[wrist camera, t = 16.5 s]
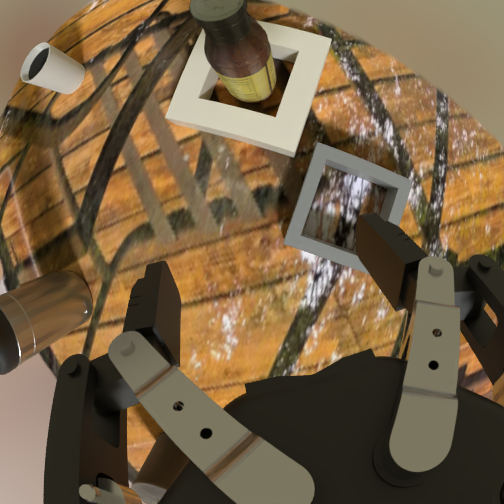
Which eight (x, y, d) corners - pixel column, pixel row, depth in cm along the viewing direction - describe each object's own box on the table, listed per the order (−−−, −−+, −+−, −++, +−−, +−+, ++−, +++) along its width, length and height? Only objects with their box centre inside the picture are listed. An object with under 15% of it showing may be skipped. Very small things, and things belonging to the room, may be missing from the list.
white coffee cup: (89, 56, 36) (53, 35, 26) (85, 90, 37) (45, 72, 27) (61, 69, 36) (24, 52, 27) (56, 101, 37) (17, 88, 28)
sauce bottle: (247, 57, 34) (214, -39, 14) (286, 80, 34) (282, -16, 14) (217, 93, 35) (159, 13, 15) (256, 117, 35) (225, 41, 16)
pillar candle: (184, 424, 44) (154, 485, 30) (218, 457, 45) (199, 518, 30) (148, 435, 46) (116, 489, 31) (180, 466, 47) (157, 520, 32)
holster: (283, 239, 37) (283, 243, 33) (314, 148, 35) (317, 142, 31) (370, 270, 36) (379, 278, 33) (400, 182, 34) (412, 181, 30)
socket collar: (176, 124, 36) (165, 117, 32) (216, 28, 33) (210, 13, 29) (294, 157, 35) (294, 152, 31) (328, 53, 32) (331, 39, 28)
